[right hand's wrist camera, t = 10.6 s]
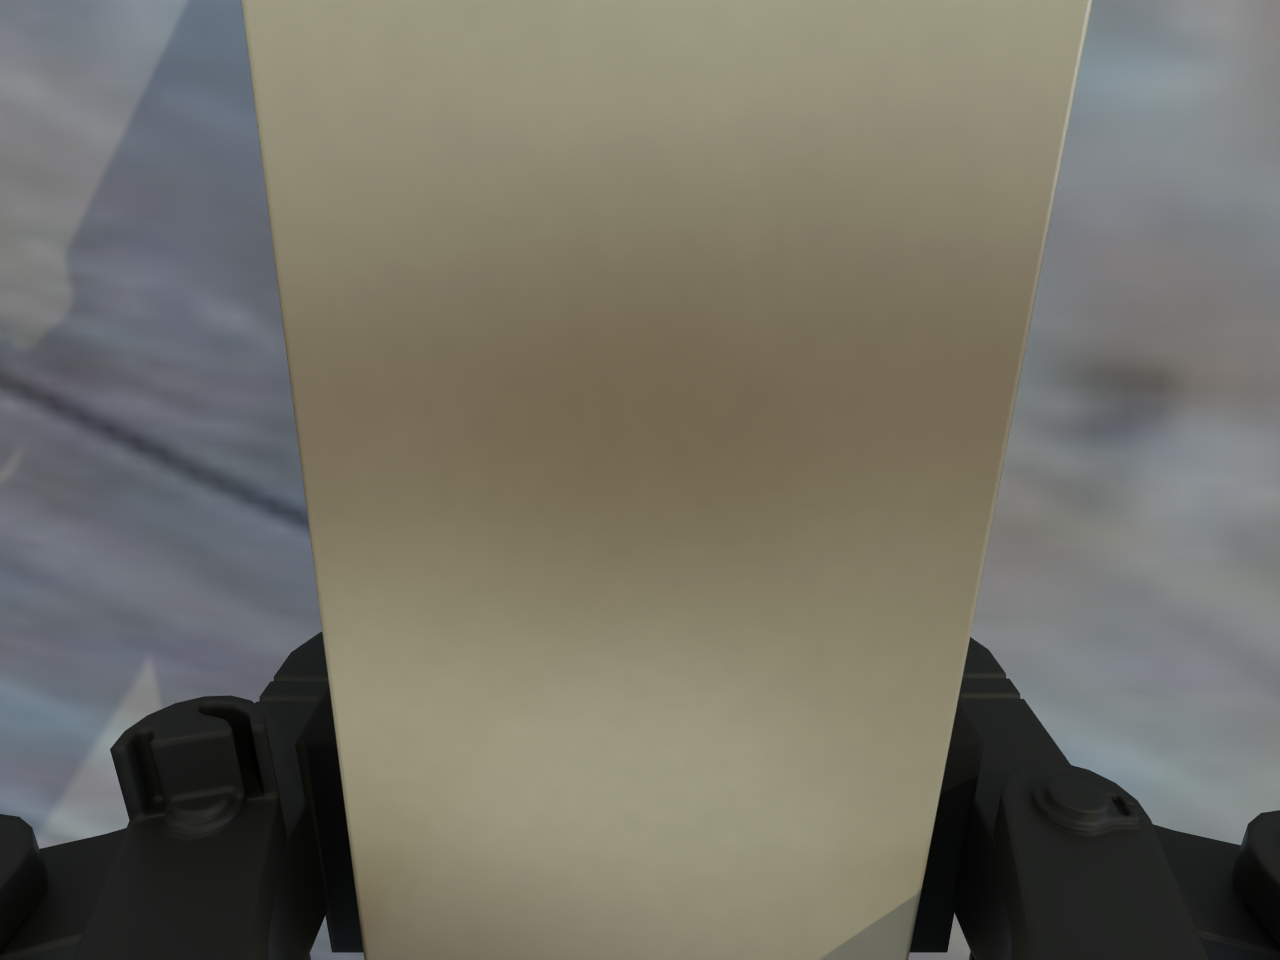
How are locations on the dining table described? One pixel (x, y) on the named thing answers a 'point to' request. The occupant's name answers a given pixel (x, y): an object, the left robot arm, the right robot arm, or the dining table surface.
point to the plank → (652, 444)
